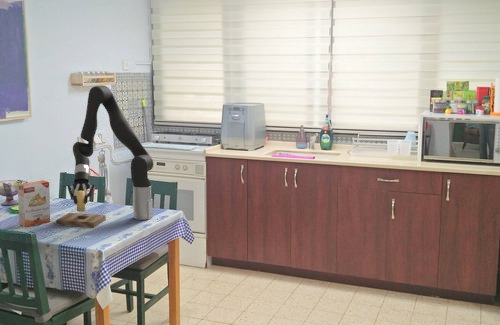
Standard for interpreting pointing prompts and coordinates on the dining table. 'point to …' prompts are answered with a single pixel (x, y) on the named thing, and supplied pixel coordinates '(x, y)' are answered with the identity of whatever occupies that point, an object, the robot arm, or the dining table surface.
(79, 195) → the ochre peg
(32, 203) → the cracker box
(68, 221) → the walnut pocket board
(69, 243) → the dining table surface
